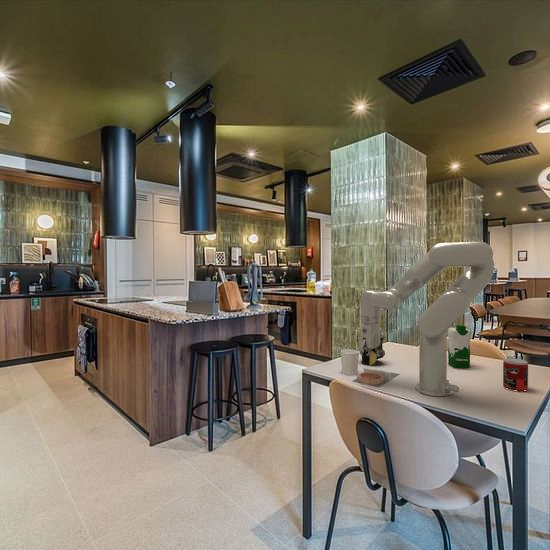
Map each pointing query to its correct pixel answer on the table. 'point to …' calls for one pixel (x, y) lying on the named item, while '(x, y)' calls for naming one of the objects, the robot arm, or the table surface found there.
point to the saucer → (370, 378)
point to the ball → (372, 357)
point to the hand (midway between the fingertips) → (369, 362)
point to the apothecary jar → (379, 350)
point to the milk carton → (459, 347)
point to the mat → (383, 381)
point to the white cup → (349, 361)
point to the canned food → (515, 374)
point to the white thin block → (386, 374)
